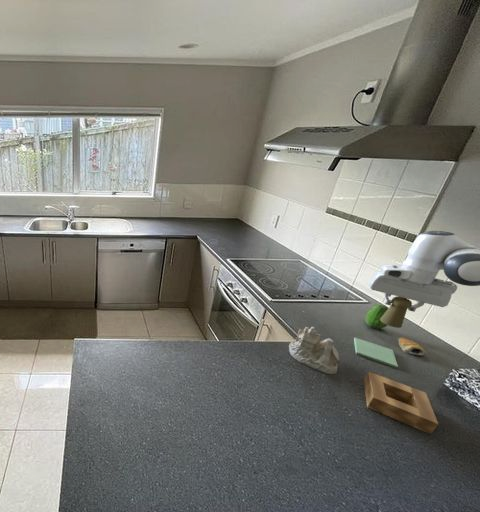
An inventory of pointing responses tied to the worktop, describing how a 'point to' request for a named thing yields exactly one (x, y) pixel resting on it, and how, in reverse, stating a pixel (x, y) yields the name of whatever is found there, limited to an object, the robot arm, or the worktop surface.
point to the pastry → (411, 347)
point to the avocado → (376, 316)
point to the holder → (411, 413)
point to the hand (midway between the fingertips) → (398, 307)
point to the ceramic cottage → (315, 351)
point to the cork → (396, 312)
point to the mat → (375, 352)
